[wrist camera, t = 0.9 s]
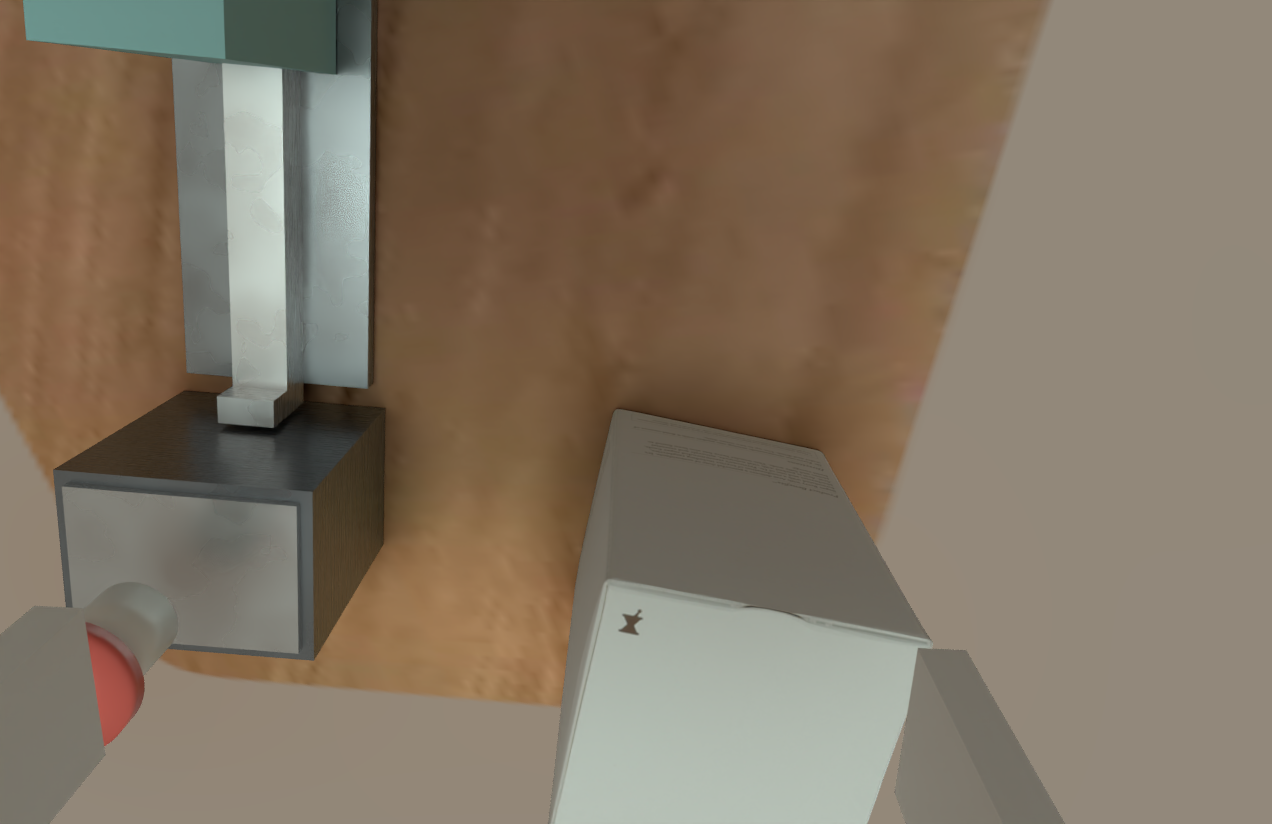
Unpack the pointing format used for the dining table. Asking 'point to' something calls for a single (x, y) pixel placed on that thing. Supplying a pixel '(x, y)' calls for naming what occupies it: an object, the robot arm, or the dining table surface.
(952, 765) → the robot arm
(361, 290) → the rail
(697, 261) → the dining table surface
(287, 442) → the grey button housing
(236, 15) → the carriage
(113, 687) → the plunger
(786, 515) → the supplement box
